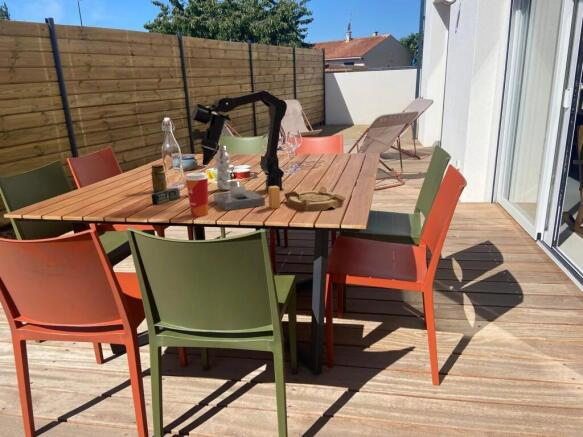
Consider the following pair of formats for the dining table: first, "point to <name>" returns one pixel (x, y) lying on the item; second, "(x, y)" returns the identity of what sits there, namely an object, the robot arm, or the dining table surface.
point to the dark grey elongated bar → (165, 196)
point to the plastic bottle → (223, 169)
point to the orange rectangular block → (274, 197)
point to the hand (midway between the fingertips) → (204, 165)
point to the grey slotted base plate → (238, 197)
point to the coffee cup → (198, 193)
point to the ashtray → (314, 200)
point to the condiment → (158, 178)
